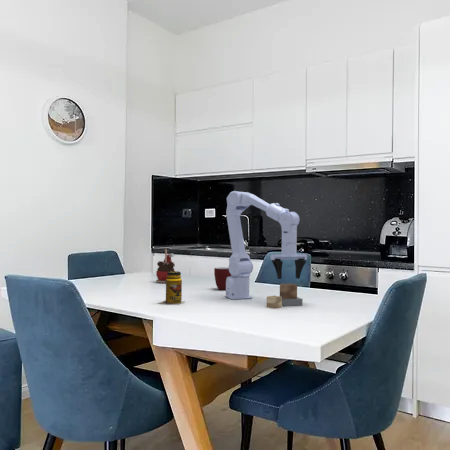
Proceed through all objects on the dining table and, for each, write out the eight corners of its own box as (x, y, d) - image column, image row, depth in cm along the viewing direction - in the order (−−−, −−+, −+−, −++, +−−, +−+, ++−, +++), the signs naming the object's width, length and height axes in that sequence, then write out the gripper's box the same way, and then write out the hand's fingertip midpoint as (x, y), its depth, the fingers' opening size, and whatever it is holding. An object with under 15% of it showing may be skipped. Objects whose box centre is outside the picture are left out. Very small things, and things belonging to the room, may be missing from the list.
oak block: (273, 308, 170) (274, 297, 170) (266, 307, 173) (266, 296, 173) (281, 307, 172) (282, 297, 172) (274, 306, 176) (274, 295, 176)
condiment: (178, 305, 175) (178, 273, 175) (157, 303, 178) (157, 272, 178) (185, 302, 182) (185, 271, 182) (165, 300, 185) (166, 270, 185)
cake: (151, 282, 240) (152, 247, 240) (164, 280, 247) (164, 246, 247) (167, 284, 234) (167, 248, 234) (179, 282, 241) (179, 247, 241)
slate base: (283, 306, 175) (283, 299, 175) (274, 302, 183) (274, 296, 183) (302, 305, 177) (302, 298, 177) (293, 302, 185) (293, 295, 185)
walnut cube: (285, 298, 177) (285, 285, 177) (279, 296, 182) (279, 283, 182) (297, 298, 178) (297, 285, 178) (291, 296, 183) (291, 283, 183)
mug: (207, 288, 220) (208, 267, 220) (221, 287, 225) (221, 266, 225) (220, 291, 211) (220, 269, 211) (234, 290, 216) (235, 268, 216)
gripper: (275, 243, 174) (275, 280, 174) (310, 243, 178) (310, 279, 178) (268, 242, 181) (268, 277, 181) (302, 242, 185) (302, 277, 185)
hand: (288, 278), depth 180 cm, fingers open, 7 cm apart
